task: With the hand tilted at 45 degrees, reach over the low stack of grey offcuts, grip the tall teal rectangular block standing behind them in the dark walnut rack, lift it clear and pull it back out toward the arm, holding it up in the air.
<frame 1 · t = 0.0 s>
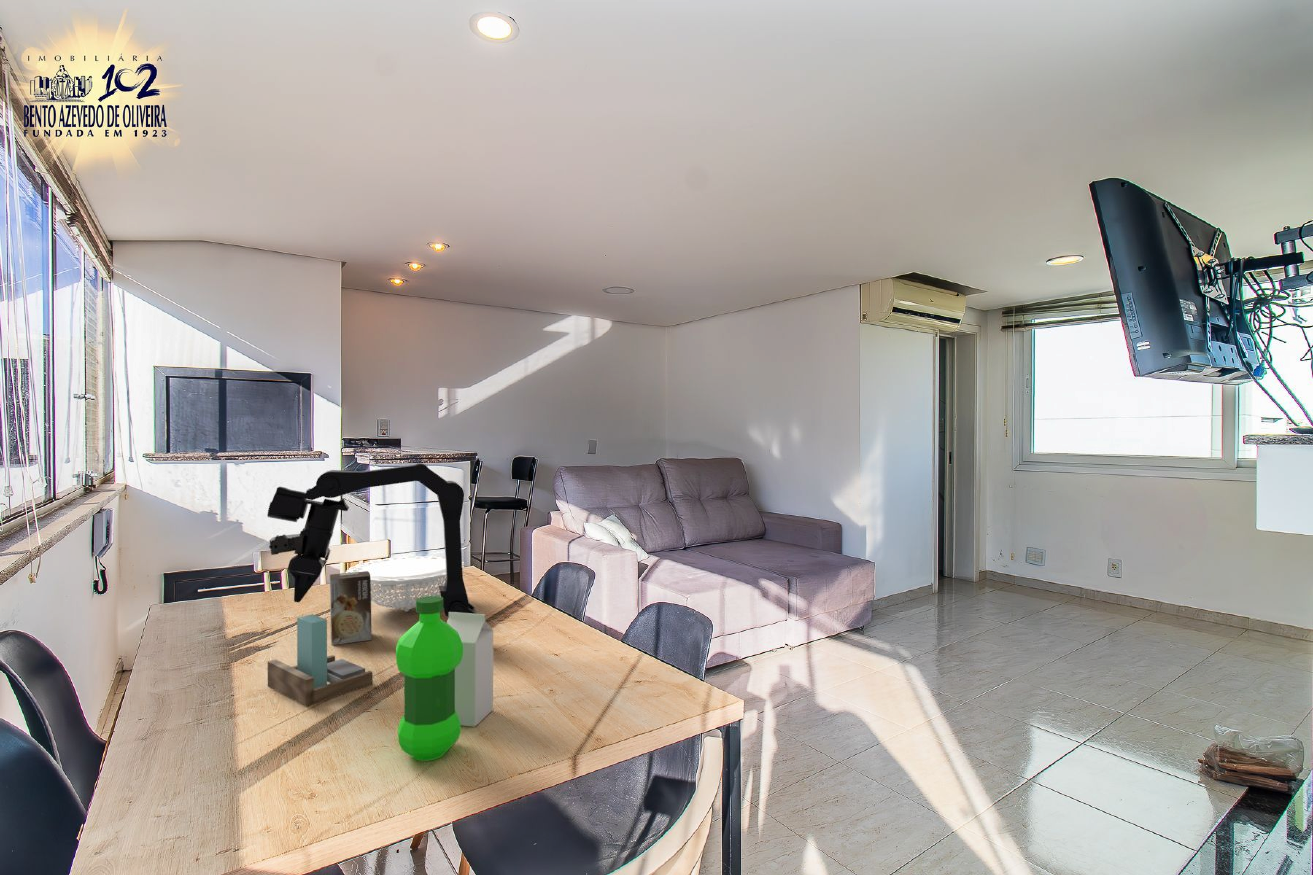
hand: (299, 596, 141), 15 cm above the table, tool pointing down, fingers open, 9 cm apart
offcut stack: (341, 672, 135), in the rack
coffee box: (350, 640, 160), on the table
rack: (312, 687, 130), on the table
milk carton: (466, 717, 118), on the table
colander: (406, 612, 183), on the table
plastic bottle: (429, 753, 105), on the table
teal rectangular block: (312, 687, 130), resting in rack
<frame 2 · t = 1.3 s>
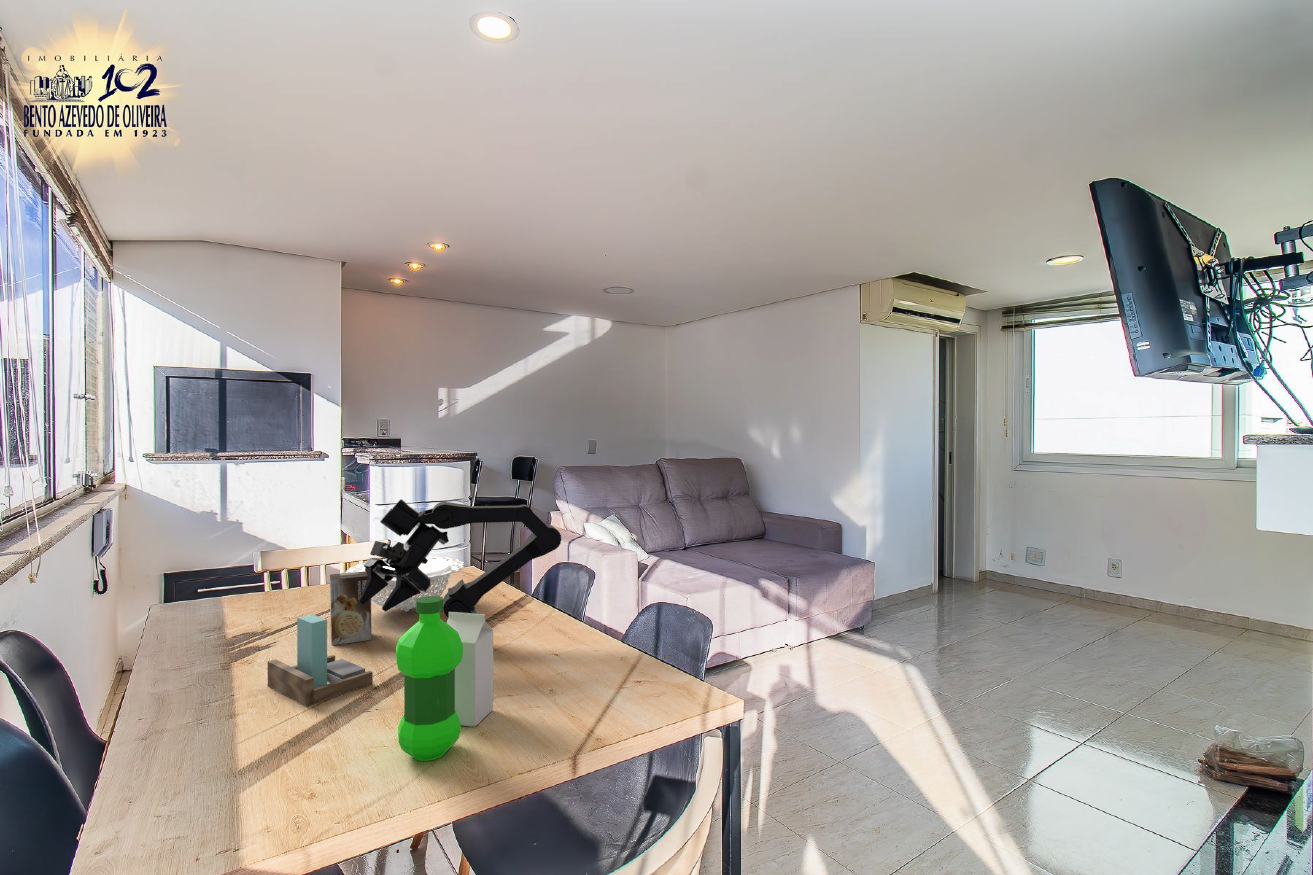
hand: (371, 606, 141), 14 cm above the table, tool tilted 45°, fingers open, 9 cm apart
nothing on the table moved.
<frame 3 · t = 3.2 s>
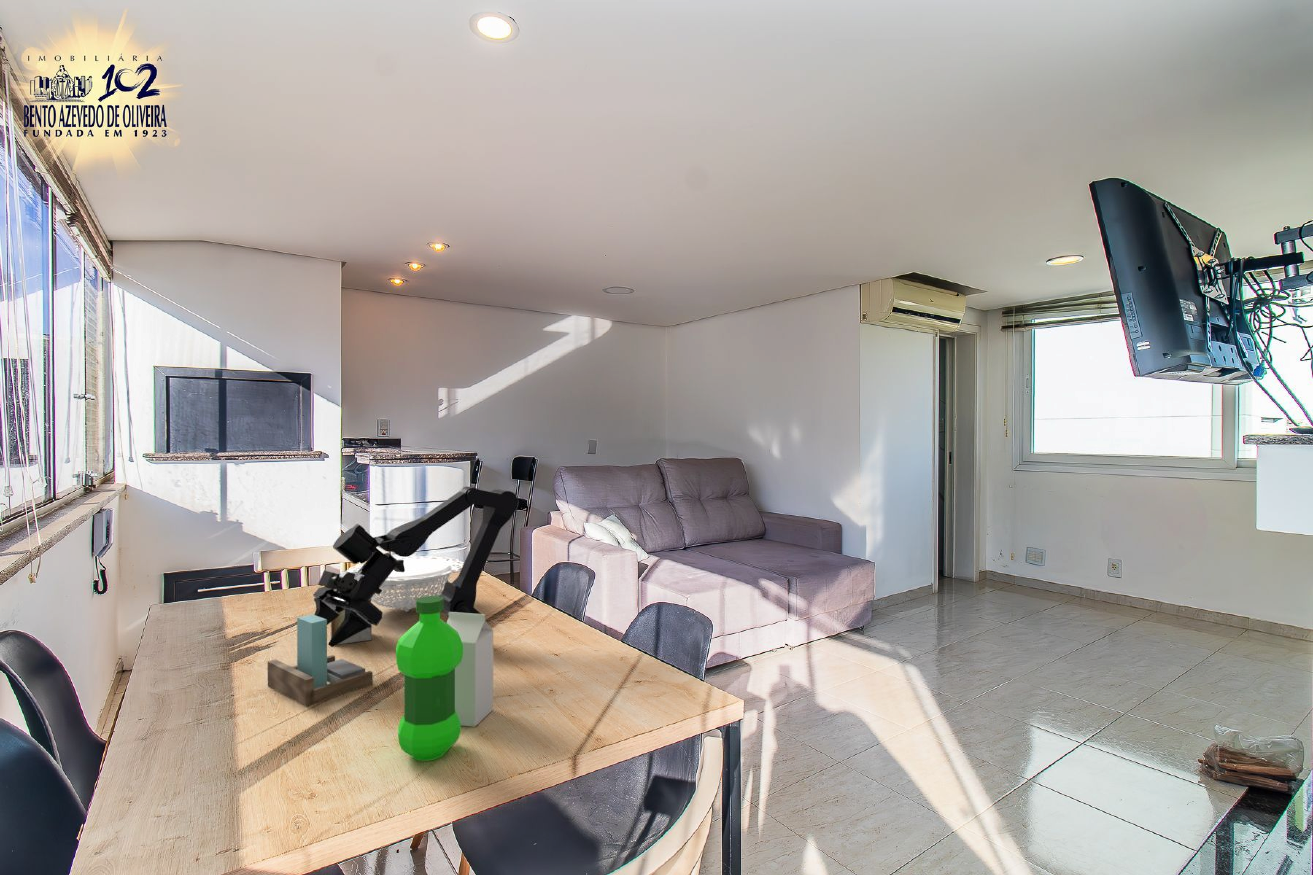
hand: (318, 641, 131), 9 cm above the table, tool tilted 45°, fingers open, 9 cm apart
nothing on the table moved.
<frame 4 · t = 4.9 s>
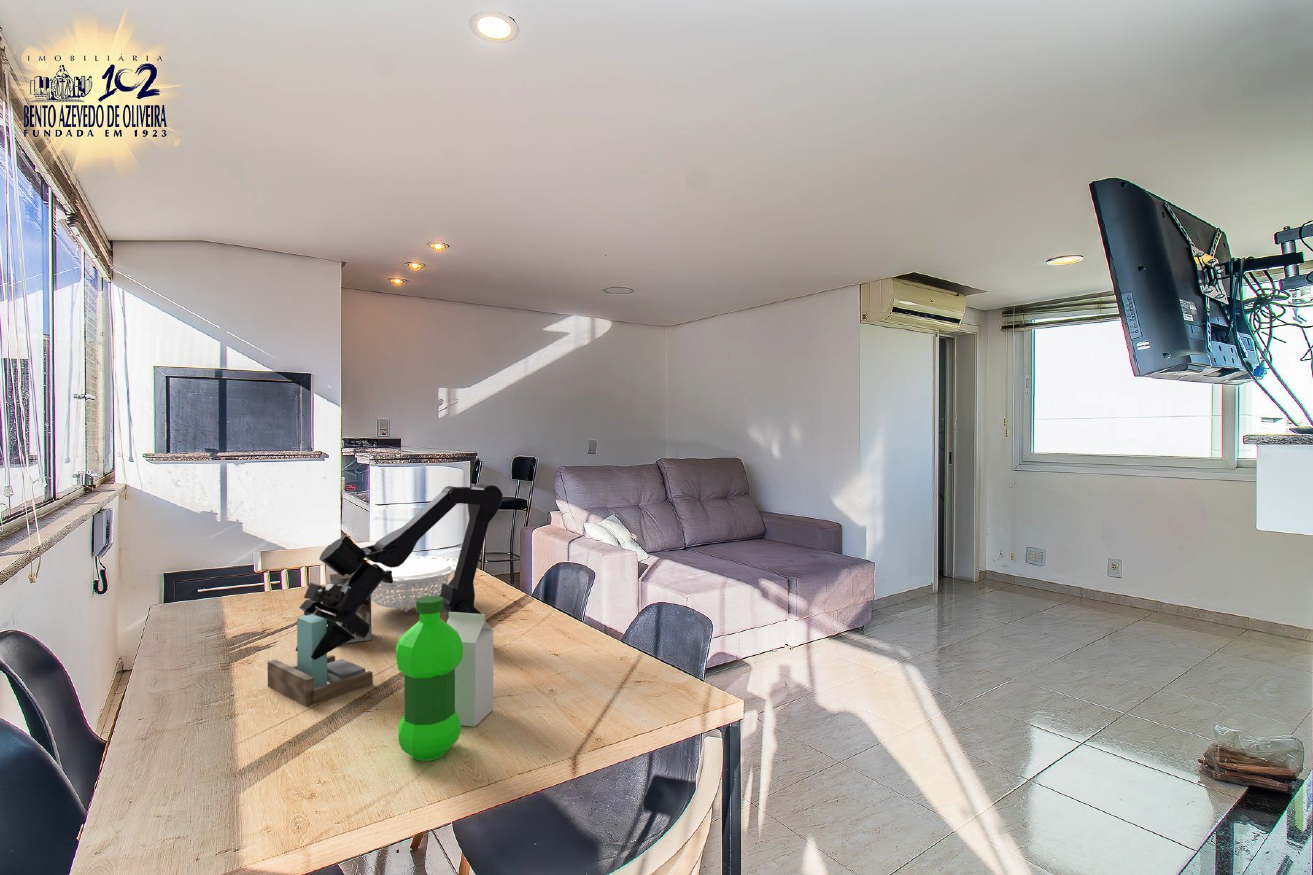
hand: (304, 655, 129), 7 cm above the table, tool tilted 45°, fingers closed on teal rectangular block, 6 cm apart
teal rectangular block: (312, 687, 130), resting in rack, touching gripper
everything else where it was.
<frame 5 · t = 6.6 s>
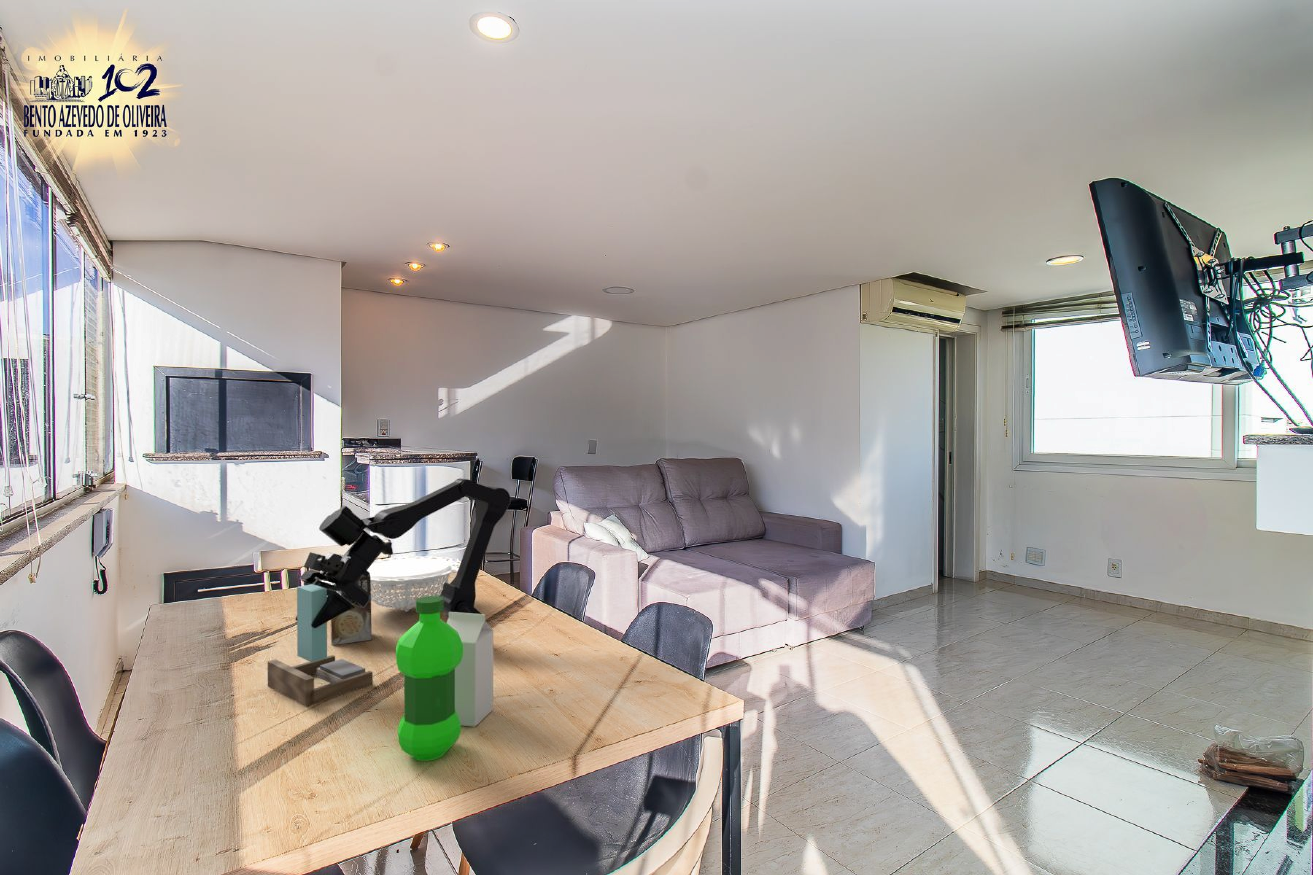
hand: (304, 624, 129), 13 cm above the table, tool tilted 45°, fingers closed on teal rectangular block, 6 cm apart
teal rectangular block: (312, 656, 130), point 6 cm above the table, touching gripper
everything else where it was.
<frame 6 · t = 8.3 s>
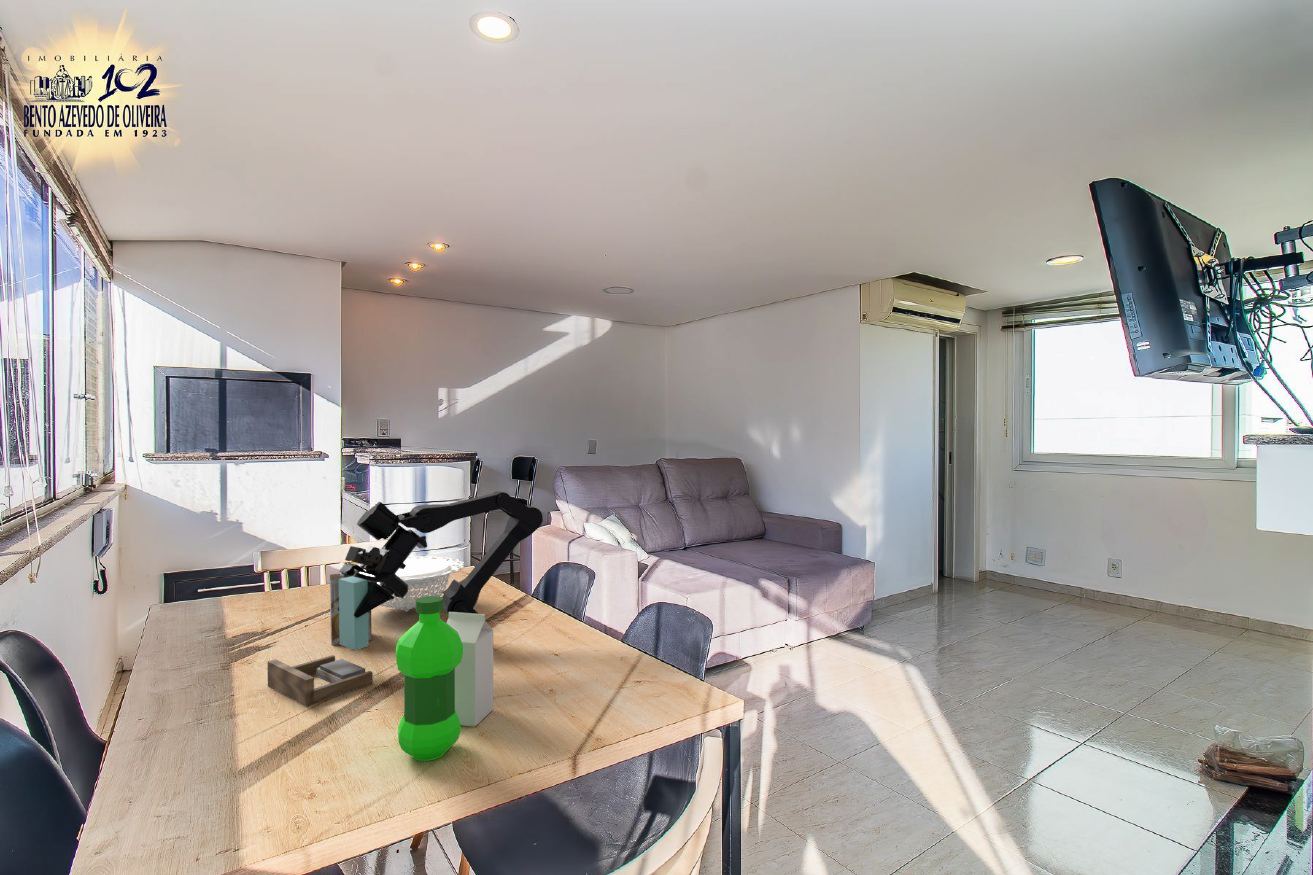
hand: (347, 614, 136), 13 cm above the table, tool tilted 45°, fingers closed on teal rectangular block, 6 cm apart
teal rectangular block: (354, 645, 137), point 6 cm above the table, touching gripper
everything else where it was.
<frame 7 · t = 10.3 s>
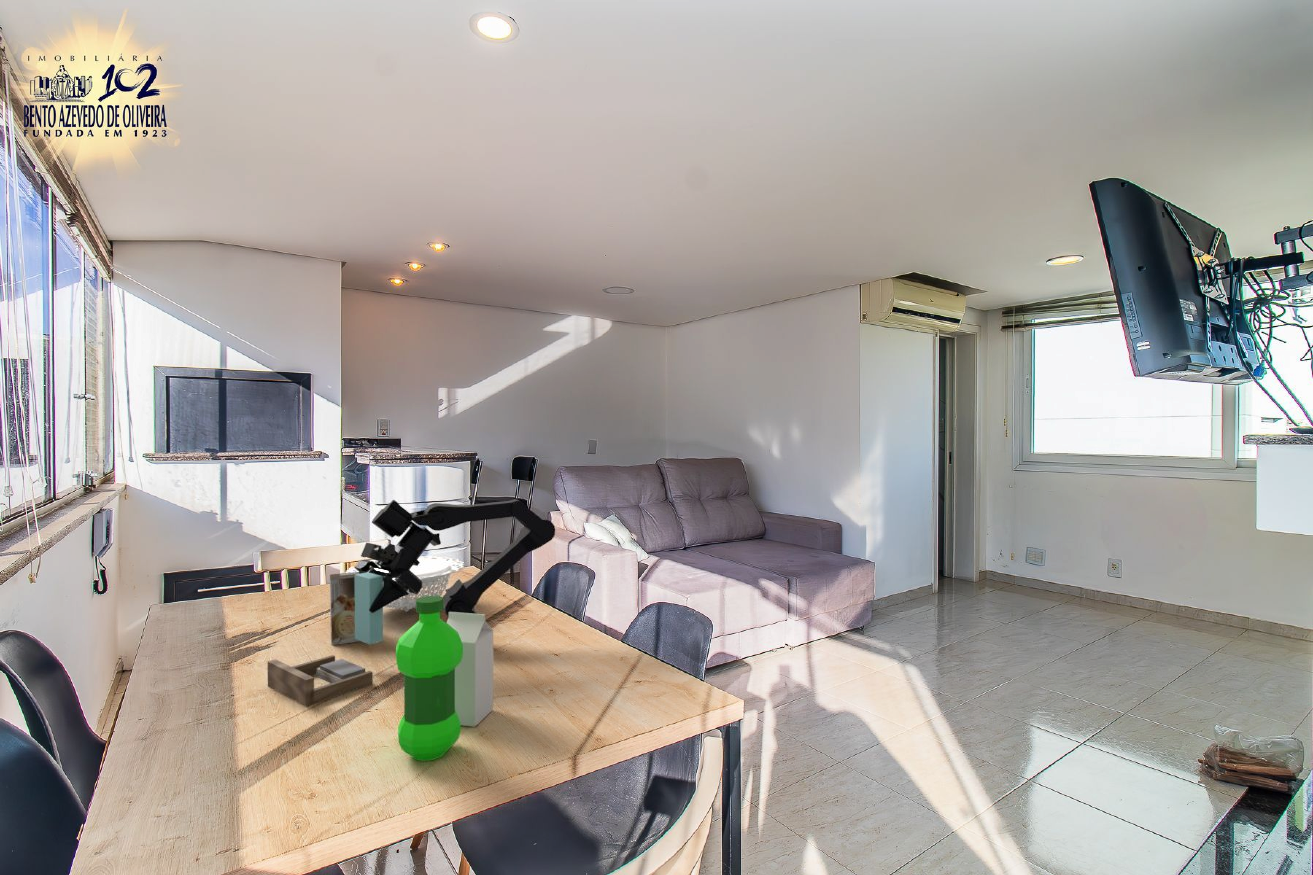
hand: (362, 609, 139), 13 cm above the table, tool tilted 45°, fingers closed on teal rectangular block, 6 cm apart
teal rectangular block: (368, 639, 140), point 7 cm above the table, touching gripper
everything else where it was.
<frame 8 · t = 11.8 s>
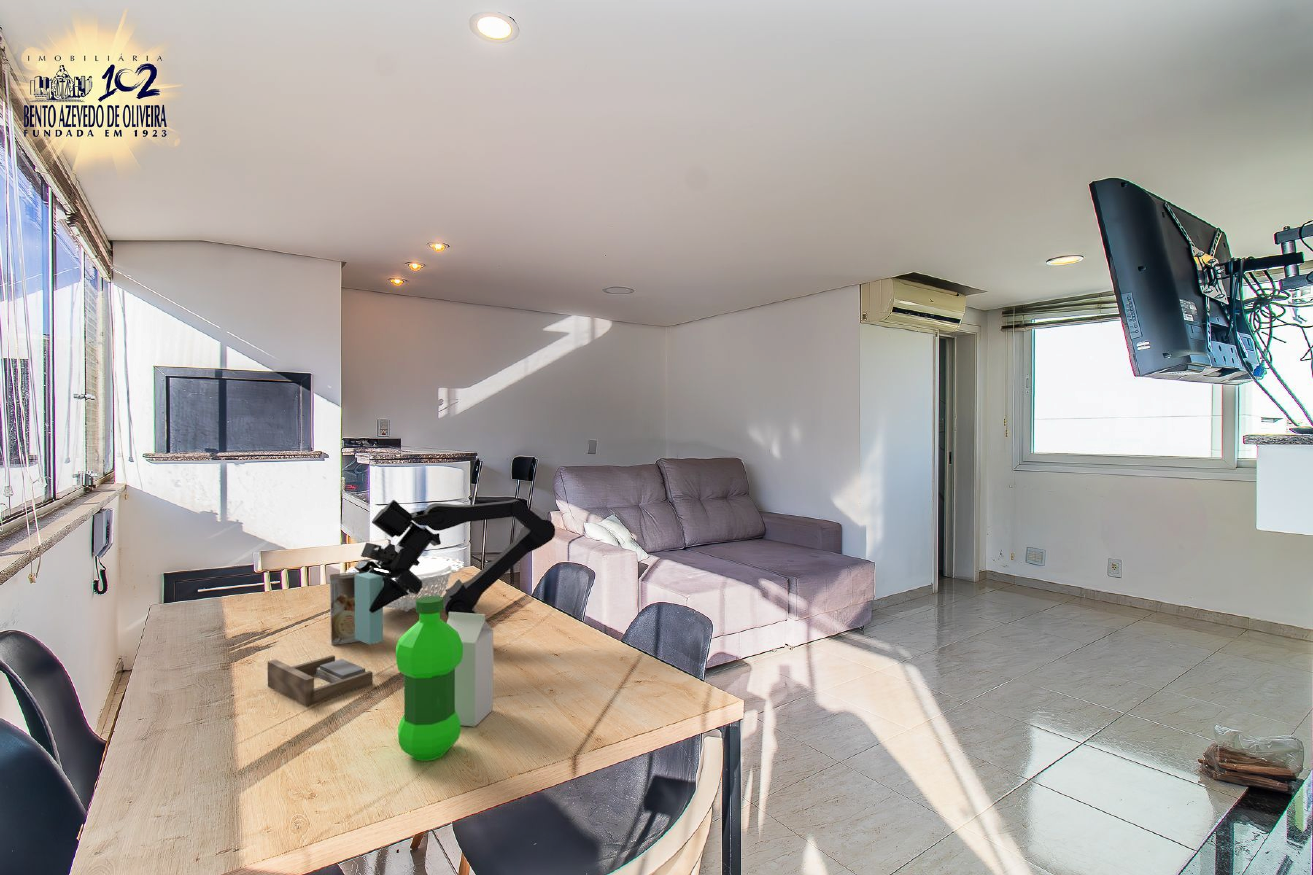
hand: (362, 609, 139), 13 cm above the table, tool tilted 45°, fingers closed on teal rectangular block, 6 cm apart
teal rectangular block: (368, 639, 140), point 7 cm above the table, touching gripper
everything else where it was.
at the end: the gripper is holding teal rectangular block; teal rectangular block inside the target area (0.4 cm from its centre), point 6.5 cm above the table; teal rectangular block touching gripper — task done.
